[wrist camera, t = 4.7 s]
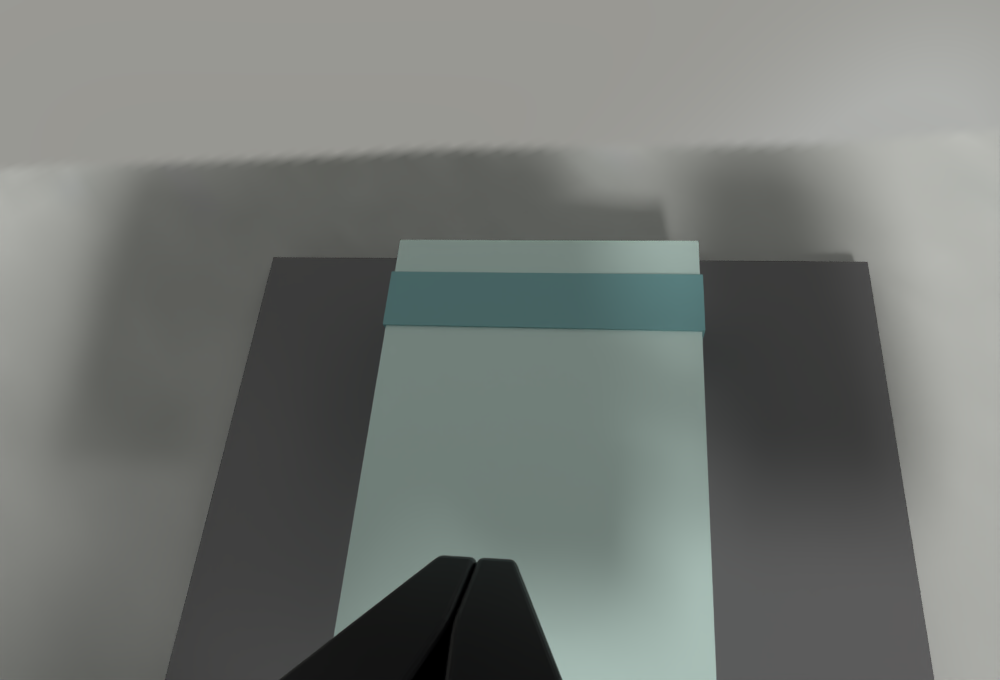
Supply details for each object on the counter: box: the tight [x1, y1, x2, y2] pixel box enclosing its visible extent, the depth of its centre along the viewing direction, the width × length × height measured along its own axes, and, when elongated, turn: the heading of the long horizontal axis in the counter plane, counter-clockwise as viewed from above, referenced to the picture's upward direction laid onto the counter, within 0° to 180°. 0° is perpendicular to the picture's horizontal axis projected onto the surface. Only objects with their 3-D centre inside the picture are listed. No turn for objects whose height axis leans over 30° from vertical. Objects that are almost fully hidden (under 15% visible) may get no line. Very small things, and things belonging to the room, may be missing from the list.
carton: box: [334, 240, 716, 680], centre depth 14 cm, size 2×6×10 cm
